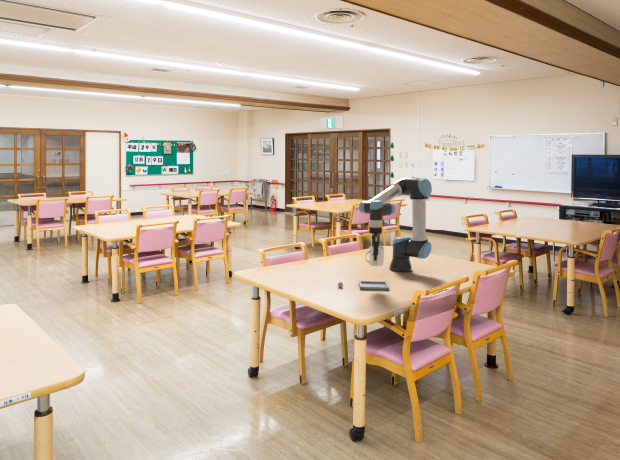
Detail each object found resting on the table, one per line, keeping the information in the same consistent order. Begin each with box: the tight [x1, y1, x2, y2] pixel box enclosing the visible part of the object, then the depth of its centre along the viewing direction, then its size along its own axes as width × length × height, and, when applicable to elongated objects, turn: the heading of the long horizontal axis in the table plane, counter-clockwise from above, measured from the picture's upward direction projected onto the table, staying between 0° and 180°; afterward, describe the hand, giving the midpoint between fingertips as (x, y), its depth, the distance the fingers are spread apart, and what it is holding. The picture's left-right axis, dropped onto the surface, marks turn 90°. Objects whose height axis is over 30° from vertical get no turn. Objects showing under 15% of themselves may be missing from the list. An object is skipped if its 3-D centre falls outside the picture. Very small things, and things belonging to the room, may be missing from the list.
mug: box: [364, 245, 385, 267], centre depth 291 cm, size 9×12×11 cm
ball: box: [337, 281, 344, 288], centre depth 292 cm, size 3×3×3 cm
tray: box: [358, 280, 390, 291], centre depth 294 cm, size 17×14×2 cm
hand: (374, 263), depth 292 cm, fingers closed on mug, 9 cm apart
